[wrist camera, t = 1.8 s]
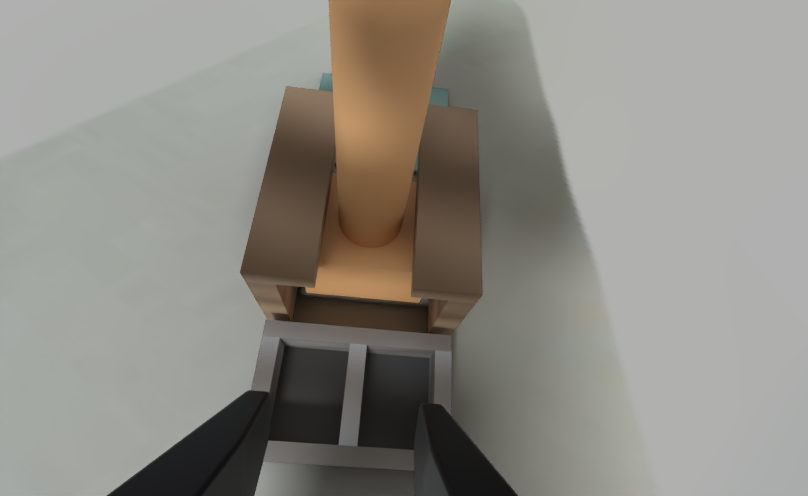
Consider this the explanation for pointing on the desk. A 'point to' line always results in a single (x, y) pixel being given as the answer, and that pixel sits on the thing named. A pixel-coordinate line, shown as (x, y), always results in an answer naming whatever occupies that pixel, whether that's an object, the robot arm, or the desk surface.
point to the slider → (377, 142)
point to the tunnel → (351, 346)
